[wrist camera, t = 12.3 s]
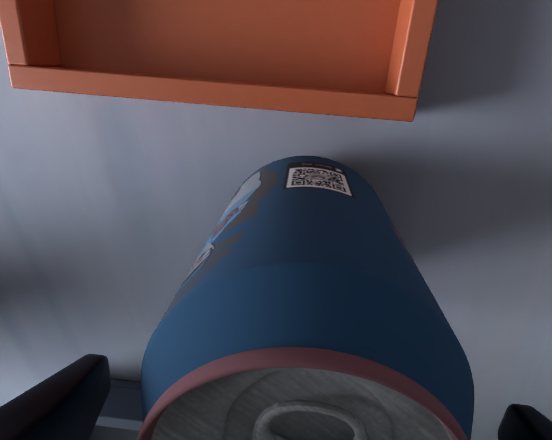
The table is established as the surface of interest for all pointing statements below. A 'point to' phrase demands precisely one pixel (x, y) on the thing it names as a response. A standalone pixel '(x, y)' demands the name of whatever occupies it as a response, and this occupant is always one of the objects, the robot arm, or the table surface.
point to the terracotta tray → (227, 52)
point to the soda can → (305, 324)
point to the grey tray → (120, 413)
